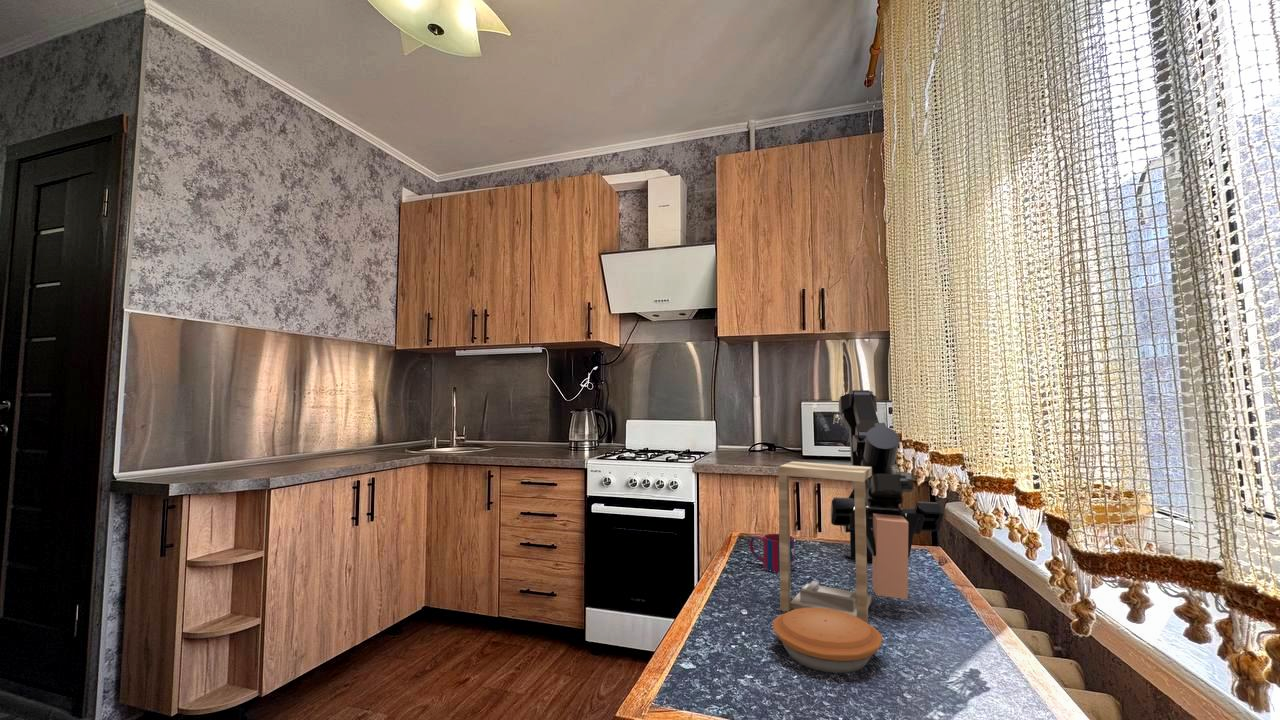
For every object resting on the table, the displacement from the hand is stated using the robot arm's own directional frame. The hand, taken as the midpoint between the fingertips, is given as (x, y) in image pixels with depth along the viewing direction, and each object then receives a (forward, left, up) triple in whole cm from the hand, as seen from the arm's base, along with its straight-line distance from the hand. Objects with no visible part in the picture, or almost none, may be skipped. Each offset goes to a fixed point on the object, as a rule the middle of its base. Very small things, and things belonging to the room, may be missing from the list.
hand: (891, 556), depth 96 cm
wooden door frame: (+3, -10, -10) cm, 15 cm away
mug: (-7, -30, -11) cm, 33 cm away
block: (-1, -1, -7) cm, 7 cm away
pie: (+21, 0, -11) cm, 24 cm away
